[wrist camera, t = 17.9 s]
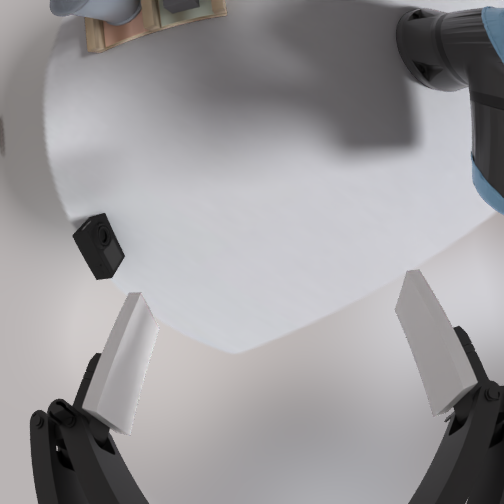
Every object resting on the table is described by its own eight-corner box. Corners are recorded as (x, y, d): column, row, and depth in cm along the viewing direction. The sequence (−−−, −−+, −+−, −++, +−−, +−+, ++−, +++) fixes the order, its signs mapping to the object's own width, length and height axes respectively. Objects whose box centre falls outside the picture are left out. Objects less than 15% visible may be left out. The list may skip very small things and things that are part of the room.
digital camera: (130, 255, 51) (117, 278, 45) (110, 259, 52) (96, 280, 46) (110, 211, 45) (92, 230, 39) (89, 217, 46) (71, 236, 40)
